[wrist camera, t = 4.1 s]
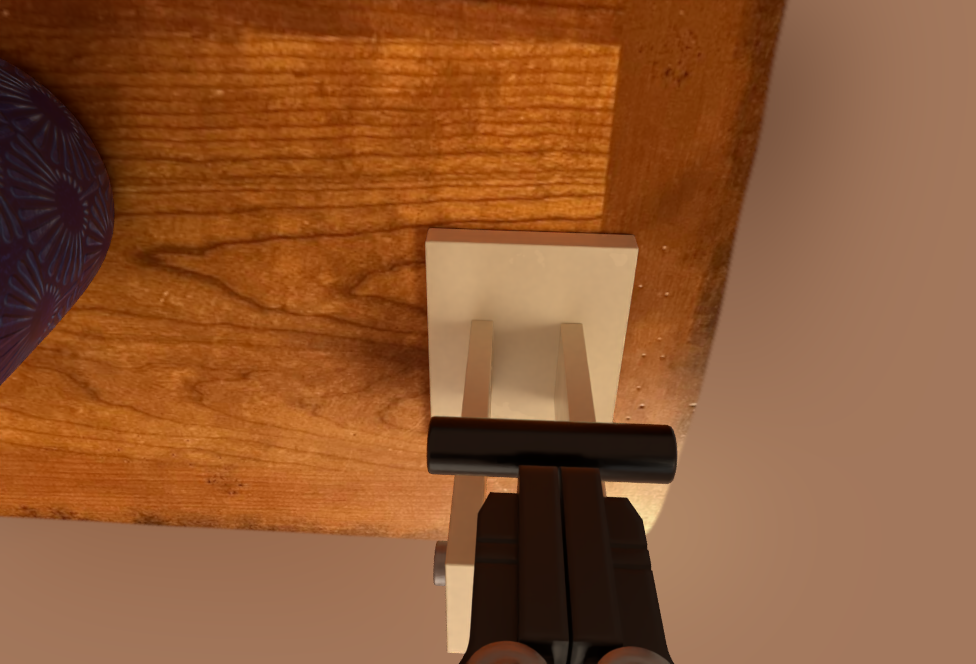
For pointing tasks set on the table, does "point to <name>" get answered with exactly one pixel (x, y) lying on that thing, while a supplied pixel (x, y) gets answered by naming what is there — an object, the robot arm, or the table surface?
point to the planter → (45, 214)
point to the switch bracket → (518, 352)
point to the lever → (551, 448)
